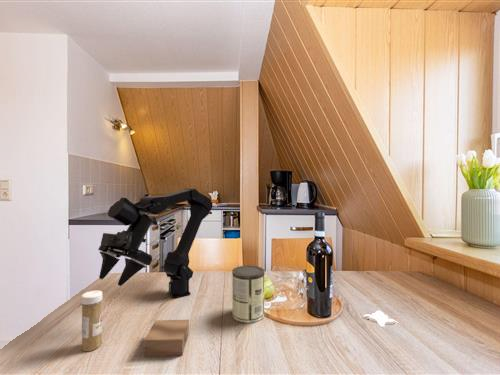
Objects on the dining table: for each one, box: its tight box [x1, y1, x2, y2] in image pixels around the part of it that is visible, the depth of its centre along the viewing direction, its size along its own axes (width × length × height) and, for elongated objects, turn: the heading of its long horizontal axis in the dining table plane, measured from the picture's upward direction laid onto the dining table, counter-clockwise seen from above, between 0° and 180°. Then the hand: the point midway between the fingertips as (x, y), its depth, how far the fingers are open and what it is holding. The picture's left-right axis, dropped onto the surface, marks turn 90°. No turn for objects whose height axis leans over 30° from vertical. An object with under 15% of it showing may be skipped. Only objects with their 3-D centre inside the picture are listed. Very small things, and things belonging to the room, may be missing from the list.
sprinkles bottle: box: [80, 289, 103, 352], centre depth 66 cm, size 5×5×14 cm
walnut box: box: [143, 319, 190, 358], centre depth 67 cm, size 9×9×4 cm
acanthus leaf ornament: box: [362, 310, 399, 328], centre depth 80 cm, size 8×7×2 cm
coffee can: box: [231, 265, 266, 324], centre depth 83 cm, size 10×10×14 cm
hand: (109, 282), depth 75 cm, fingers open, 9 cm apart
